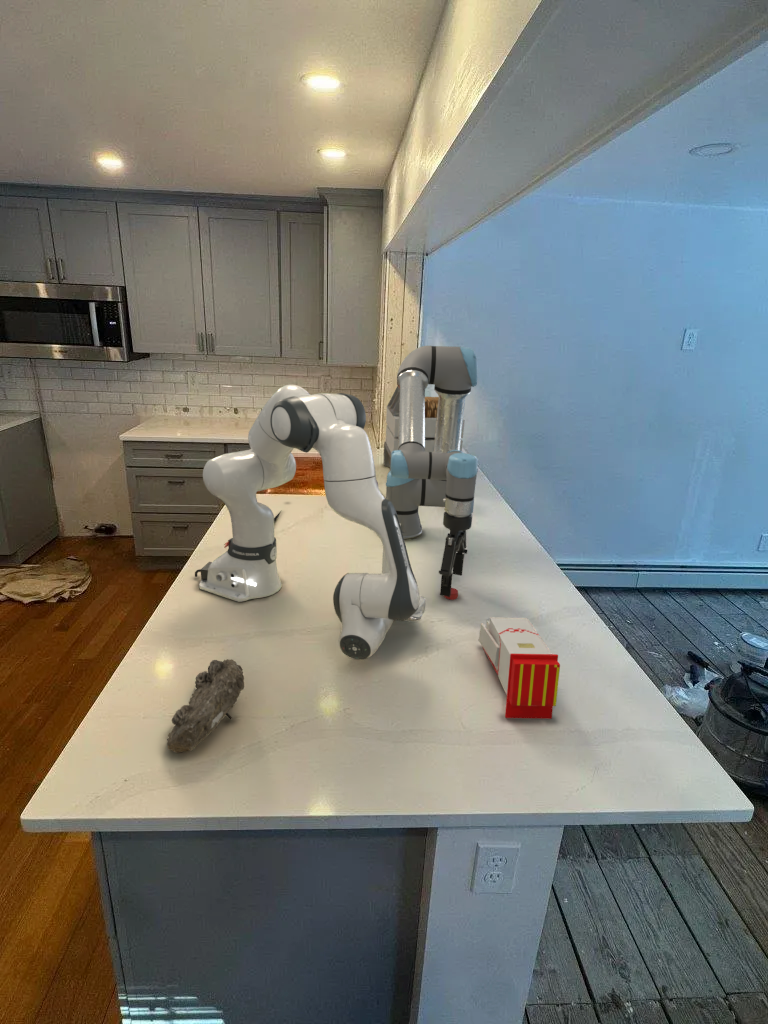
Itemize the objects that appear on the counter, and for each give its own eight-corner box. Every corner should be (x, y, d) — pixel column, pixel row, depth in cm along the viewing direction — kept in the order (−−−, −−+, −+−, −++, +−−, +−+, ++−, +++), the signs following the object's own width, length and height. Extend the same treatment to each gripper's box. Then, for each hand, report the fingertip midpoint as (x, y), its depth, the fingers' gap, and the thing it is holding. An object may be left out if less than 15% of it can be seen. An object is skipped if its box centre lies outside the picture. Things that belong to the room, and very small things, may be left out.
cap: (460, 597, 157) (461, 591, 157) (450, 601, 155) (450, 595, 155) (451, 591, 160) (451, 586, 160) (440, 595, 158) (441, 589, 158)
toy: (525, 603, 136) (569, 660, 107) (520, 654, 139) (562, 725, 109) (475, 601, 135) (505, 659, 106) (471, 653, 138) (499, 724, 109)
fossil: (192, 660, 117) (244, 628, 112) (224, 691, 120) (276, 661, 115) (142, 746, 98) (202, 712, 93) (182, 779, 101) (242, 748, 96)
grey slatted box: (382, 463, 289) (386, 382, 275) (445, 464, 293) (451, 384, 279) (390, 482, 257) (394, 392, 243) (460, 483, 261) (468, 394, 247)
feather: (288, 505, 226) (290, 501, 226) (271, 529, 199) (273, 524, 199) (284, 503, 226) (287, 499, 225) (266, 526, 199) (269, 522, 199)
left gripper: (420, 609, 131) (432, 583, 143) (337, 594, 136) (356, 570, 148) (418, 633, 133) (430, 605, 145) (336, 617, 138) (355, 592, 150)
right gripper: (455, 496, 162) (449, 564, 169) (431, 526, 140) (425, 601, 147) (481, 500, 159) (474, 568, 167) (461, 531, 137) (453, 608, 145)
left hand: (392, 587), depth 147 cm, fingers closed on bottle, 5 cm apart
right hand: (451, 584), depth 157 cm, fingers open, 13 cm apart
